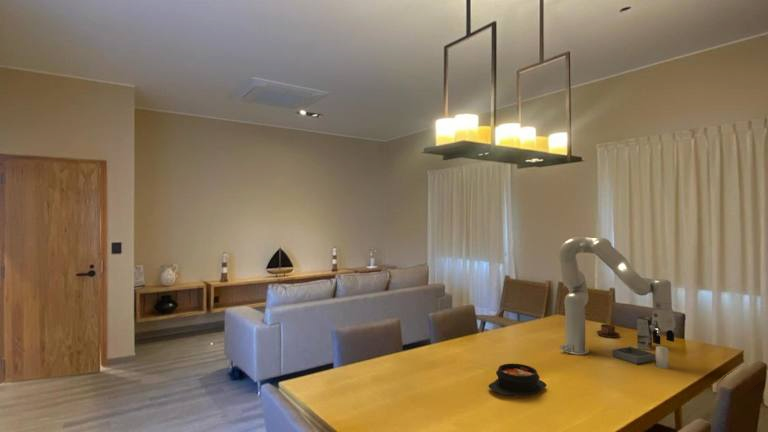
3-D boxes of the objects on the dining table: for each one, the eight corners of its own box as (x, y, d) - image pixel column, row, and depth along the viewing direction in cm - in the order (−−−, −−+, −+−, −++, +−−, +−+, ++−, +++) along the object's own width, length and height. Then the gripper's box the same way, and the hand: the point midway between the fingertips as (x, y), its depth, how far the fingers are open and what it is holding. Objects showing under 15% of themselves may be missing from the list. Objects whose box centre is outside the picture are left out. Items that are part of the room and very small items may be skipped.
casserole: (523, 377, 185) (523, 358, 185) (557, 392, 168) (557, 371, 168) (478, 387, 173) (478, 367, 173) (510, 405, 157) (510, 382, 157)
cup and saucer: (622, 339, 242) (622, 328, 242) (600, 338, 245) (600, 327, 245) (615, 333, 254) (615, 323, 254) (594, 332, 257) (594, 322, 257)
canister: (664, 369, 194) (663, 349, 194) (653, 365, 198) (653, 346, 199) (671, 367, 196) (670, 348, 196) (660, 364, 200) (660, 345, 201)
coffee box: (651, 350, 221) (650, 320, 221) (636, 348, 225) (636, 318, 225) (652, 346, 228) (652, 317, 228) (638, 344, 232) (638, 315, 232)
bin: (636, 364, 200) (636, 357, 200) (612, 356, 212) (612, 349, 212) (655, 361, 205) (655, 353, 205) (630, 353, 217) (629, 346, 217)
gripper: (658, 309, 190) (659, 346, 190) (682, 305, 197) (683, 341, 197) (642, 306, 197) (643, 342, 197) (666, 302, 204) (667, 338, 204)
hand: (663, 342), depth 197 cm, fingers open, 9 cm apart
